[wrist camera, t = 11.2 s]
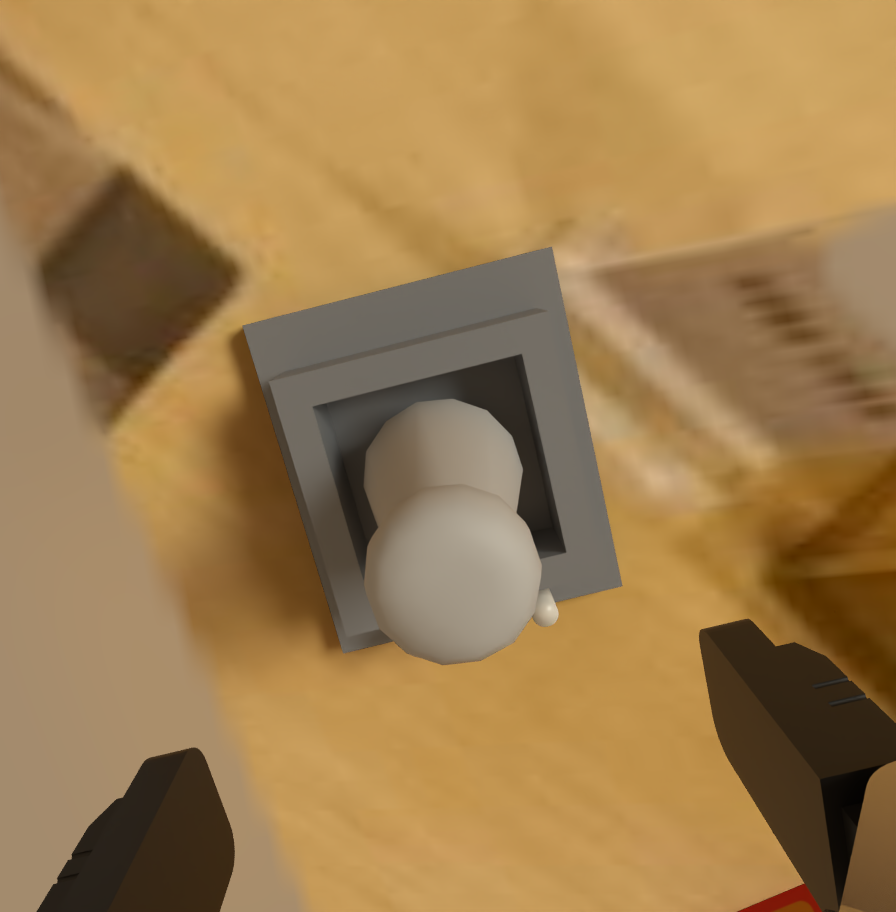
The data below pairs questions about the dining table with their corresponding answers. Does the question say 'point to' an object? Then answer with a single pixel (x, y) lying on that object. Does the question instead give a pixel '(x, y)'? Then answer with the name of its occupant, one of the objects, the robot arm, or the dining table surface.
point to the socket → (425, 379)
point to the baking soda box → (787, 902)
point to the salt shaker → (448, 534)
